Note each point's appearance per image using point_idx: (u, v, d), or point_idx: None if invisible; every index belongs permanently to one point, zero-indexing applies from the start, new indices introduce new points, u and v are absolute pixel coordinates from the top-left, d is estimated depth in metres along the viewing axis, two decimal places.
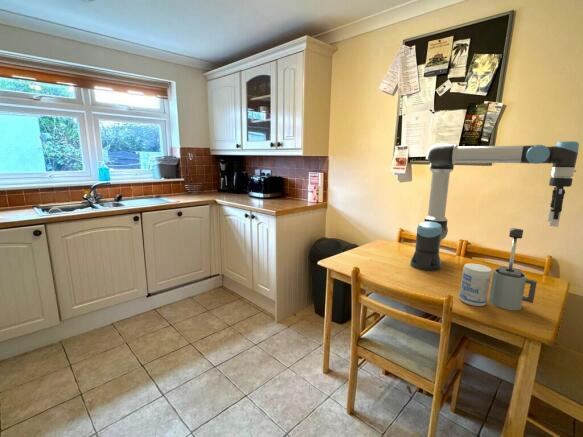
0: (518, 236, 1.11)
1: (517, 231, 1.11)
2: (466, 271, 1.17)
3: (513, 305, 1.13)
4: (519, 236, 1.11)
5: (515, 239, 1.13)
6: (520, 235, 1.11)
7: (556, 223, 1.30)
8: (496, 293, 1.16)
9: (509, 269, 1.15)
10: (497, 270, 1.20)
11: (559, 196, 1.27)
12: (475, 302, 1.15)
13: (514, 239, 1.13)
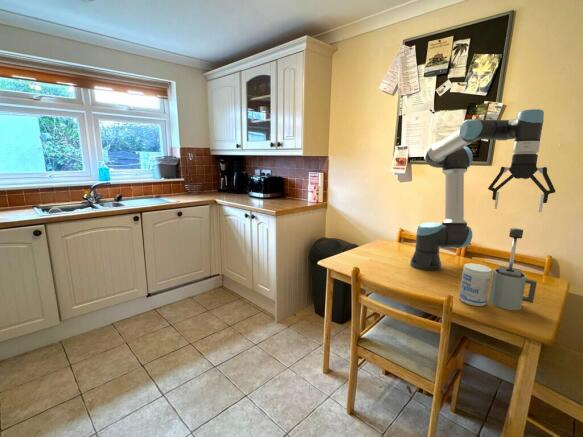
0: (518, 236, 1.11)
1: (517, 231, 1.11)
2: (466, 271, 1.17)
3: (513, 305, 1.13)
4: (519, 236, 1.11)
5: (515, 239, 1.13)
6: (520, 235, 1.11)
7: None
8: (496, 293, 1.16)
9: (509, 269, 1.15)
10: (497, 270, 1.20)
11: (498, 174, 1.16)
12: (475, 302, 1.15)
13: (514, 239, 1.13)
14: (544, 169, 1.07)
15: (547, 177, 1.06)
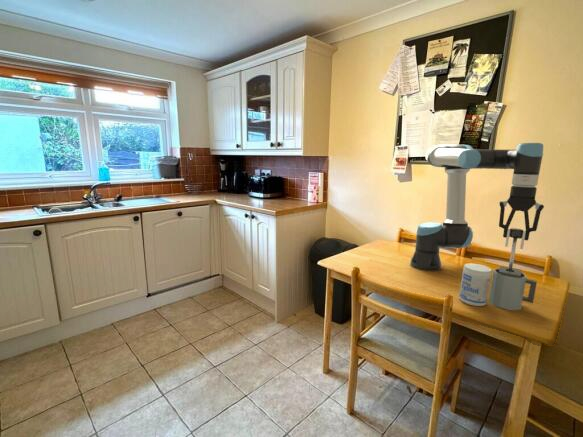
0: (518, 236, 1.11)
1: (517, 231, 1.11)
2: (466, 271, 1.17)
3: (513, 305, 1.13)
4: (519, 236, 1.11)
5: (515, 239, 1.13)
6: (520, 235, 1.11)
7: None
8: (496, 293, 1.16)
9: (509, 269, 1.15)
10: (497, 270, 1.20)
11: (500, 210, 1.15)
12: (475, 302, 1.15)
13: (514, 239, 1.13)
14: (540, 207, 1.06)
15: (538, 215, 1.07)
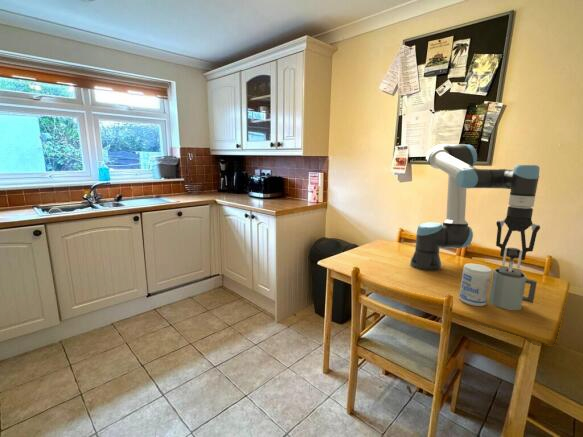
0: (515, 256, 1.12)
1: (514, 251, 1.12)
2: (466, 271, 1.17)
3: (513, 305, 1.13)
4: (516, 256, 1.12)
5: (512, 258, 1.14)
6: (517, 255, 1.12)
7: None
8: (496, 293, 1.16)
9: None
10: (497, 270, 1.20)
11: None
12: (475, 302, 1.15)
13: (511, 258, 1.14)
14: (537, 228, 1.08)
15: (534, 236, 1.09)
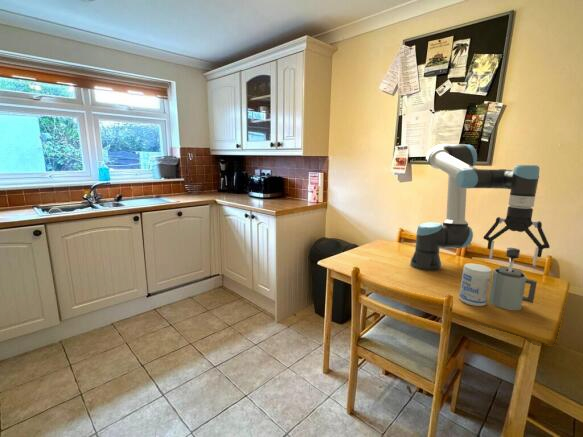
0: (515, 256, 1.13)
1: (514, 251, 1.12)
2: (466, 271, 1.17)
3: (513, 305, 1.13)
4: (516, 256, 1.12)
5: (512, 259, 1.14)
6: (517, 255, 1.12)
7: (490, 254, 1.18)
8: (496, 293, 1.16)
9: None
10: (497, 270, 1.20)
11: None
12: (475, 302, 1.15)
13: (511, 258, 1.14)
14: (539, 224, 1.07)
15: (541, 232, 1.07)
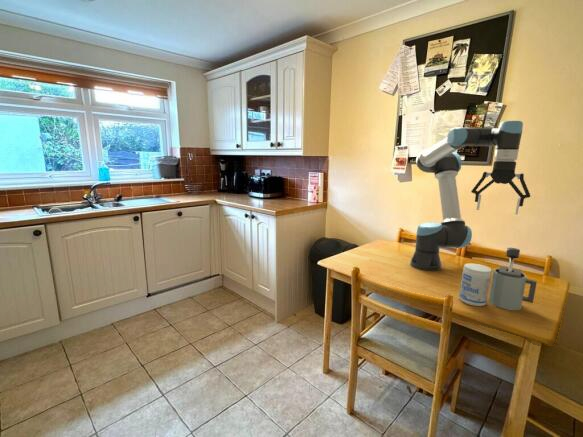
0: (515, 256, 1.13)
1: (514, 251, 1.12)
2: (466, 271, 1.17)
3: (513, 305, 1.13)
4: (516, 256, 1.12)
5: (512, 259, 1.14)
6: (517, 255, 1.12)
7: (477, 206, 1.29)
8: (496, 293, 1.16)
9: None
10: (497, 270, 1.20)
11: None
12: (475, 302, 1.15)
13: (511, 258, 1.14)
14: (521, 176, 1.17)
15: (523, 183, 1.17)
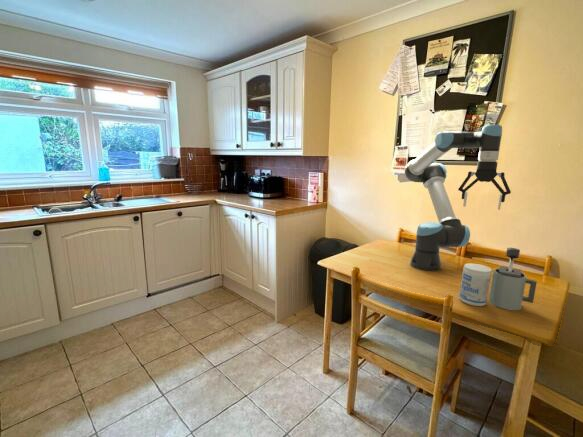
0: (515, 256, 1.13)
1: (514, 251, 1.12)
2: (466, 271, 1.17)
3: (513, 305, 1.13)
4: (516, 256, 1.12)
5: (512, 259, 1.14)
6: (517, 255, 1.12)
7: None
8: (496, 293, 1.16)
9: None
10: (497, 270, 1.20)
11: None
12: (475, 302, 1.15)
13: (511, 258, 1.14)
14: (502, 174, 1.30)
15: (504, 181, 1.29)
